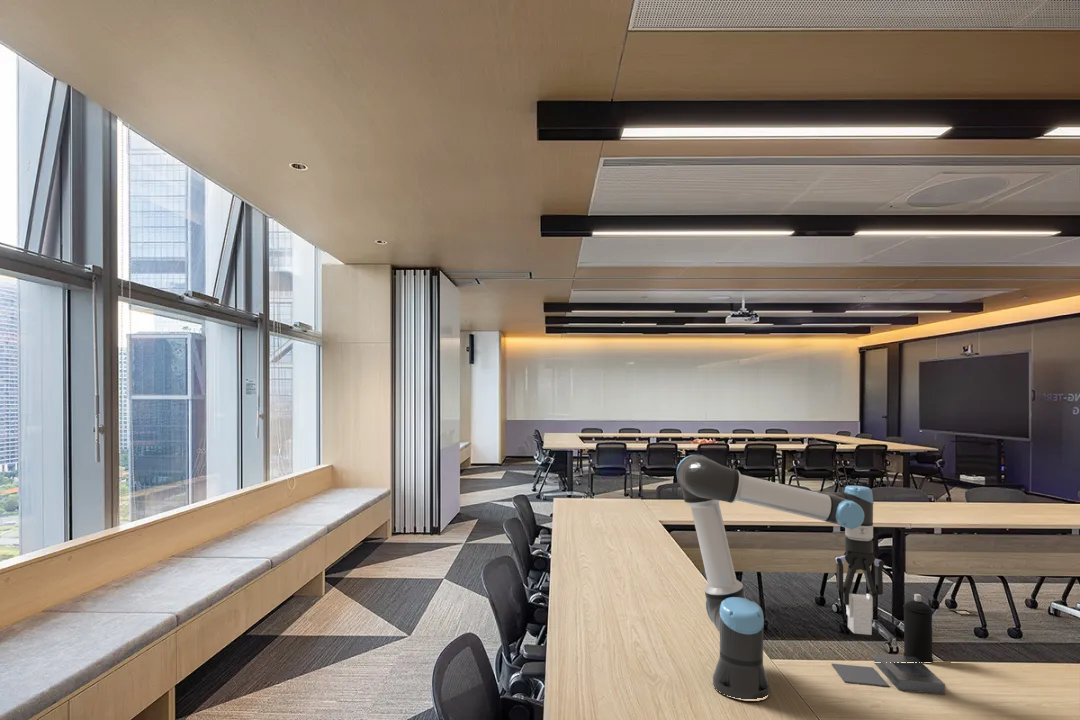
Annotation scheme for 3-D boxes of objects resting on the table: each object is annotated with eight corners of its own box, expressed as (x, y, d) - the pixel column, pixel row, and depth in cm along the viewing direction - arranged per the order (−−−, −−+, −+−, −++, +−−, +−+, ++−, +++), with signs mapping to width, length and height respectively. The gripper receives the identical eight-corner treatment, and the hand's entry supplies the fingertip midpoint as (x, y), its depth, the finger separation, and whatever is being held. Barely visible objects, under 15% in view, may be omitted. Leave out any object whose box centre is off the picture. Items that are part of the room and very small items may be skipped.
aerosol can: (919, 664, 189) (918, 599, 190) (897, 653, 197) (896, 591, 198) (939, 662, 191) (939, 598, 192) (917, 651, 199) (916, 590, 200)
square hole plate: (898, 690, 171) (898, 679, 171) (874, 663, 189) (874, 653, 189) (944, 694, 169) (944, 683, 170) (915, 666, 187) (915, 657, 187)
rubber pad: (844, 682, 175) (844, 681, 175) (831, 664, 187) (831, 663, 187) (889, 687, 173) (889, 685, 173) (872, 668, 185) (872, 667, 185)
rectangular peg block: (853, 633, 179) (853, 598, 179) (847, 627, 184) (847, 593, 184) (871, 634, 178) (871, 600, 178) (865, 628, 183) (865, 594, 183)
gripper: (831, 538, 180) (831, 618, 179) (896, 542, 177) (897, 623, 176) (823, 533, 188) (823, 609, 186) (885, 537, 185) (886, 614, 183)
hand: (859, 616), depth 181 cm, fingers closed on rectangular peg block, 5 cm apart
